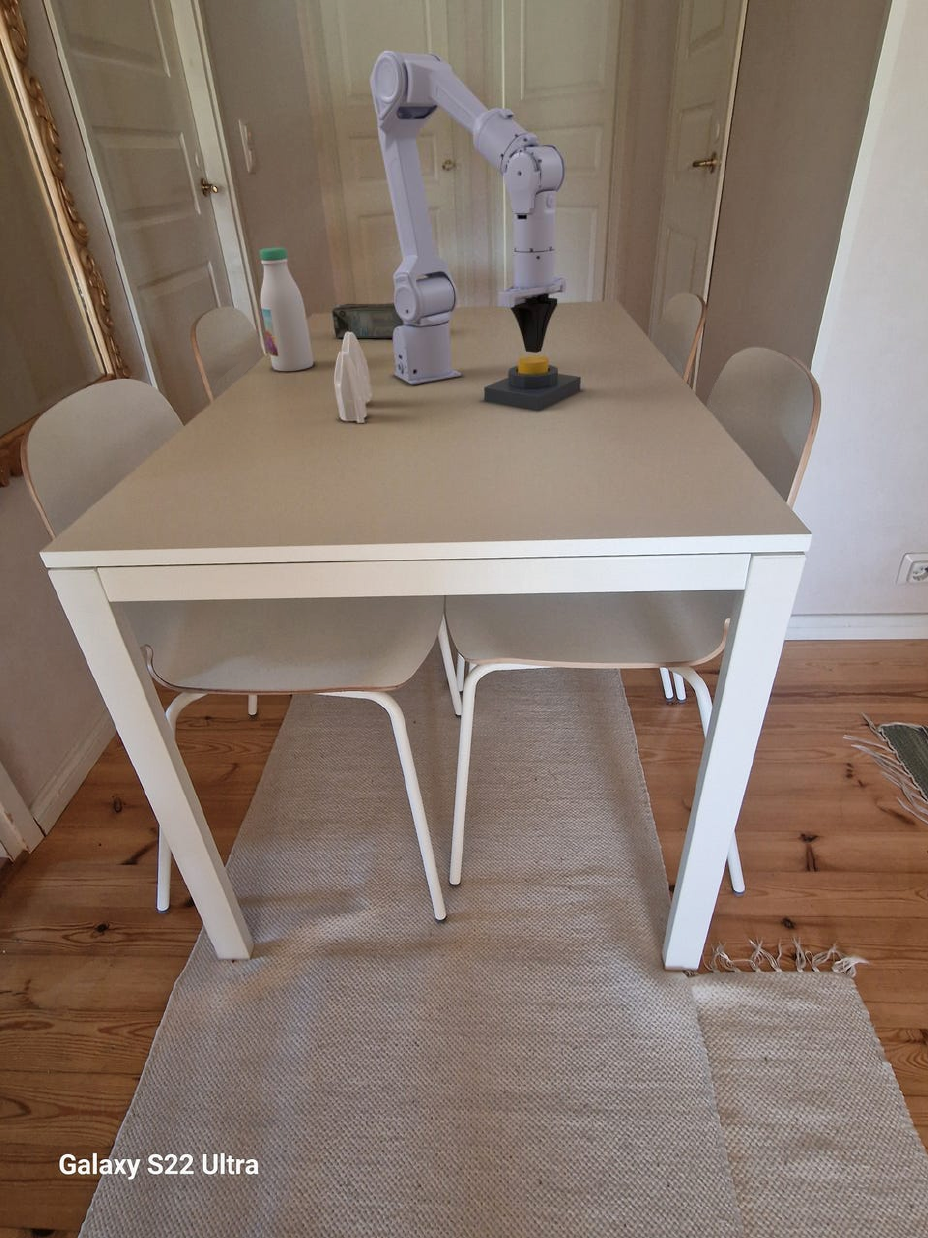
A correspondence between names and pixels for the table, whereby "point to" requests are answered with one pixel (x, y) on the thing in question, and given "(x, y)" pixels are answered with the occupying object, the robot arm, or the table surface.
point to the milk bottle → (283, 314)
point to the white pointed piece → (352, 381)
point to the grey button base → (532, 389)
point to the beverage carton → (366, 320)
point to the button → (533, 364)
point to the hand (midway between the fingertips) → (533, 351)
